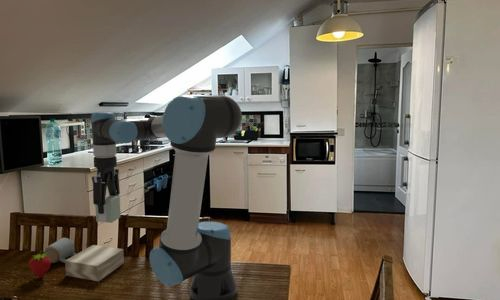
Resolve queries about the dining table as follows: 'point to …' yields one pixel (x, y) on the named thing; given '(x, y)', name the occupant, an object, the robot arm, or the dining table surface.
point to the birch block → (94, 262)
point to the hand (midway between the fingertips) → (108, 218)
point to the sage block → (111, 208)
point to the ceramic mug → (60, 250)
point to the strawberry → (40, 264)
